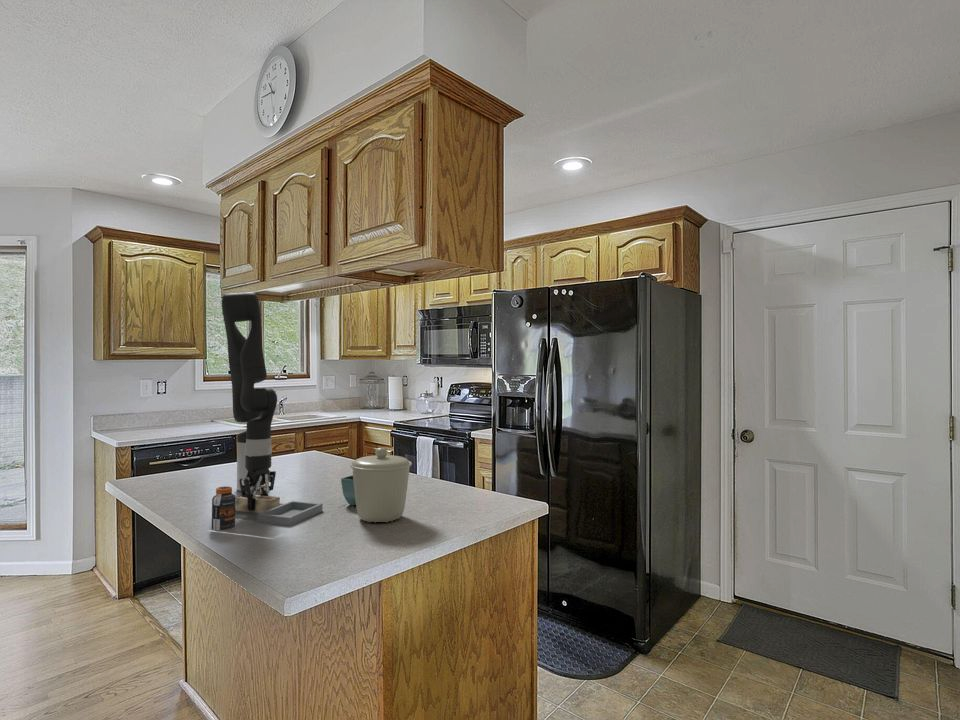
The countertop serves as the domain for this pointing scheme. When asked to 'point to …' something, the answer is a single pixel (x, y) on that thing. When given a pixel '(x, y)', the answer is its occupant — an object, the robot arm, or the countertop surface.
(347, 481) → the flower pot
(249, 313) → the robot arm
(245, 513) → the rubber mat
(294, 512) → the slate tray
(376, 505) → the canister
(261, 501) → the wooden block
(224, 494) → the pill bottle
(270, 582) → the countertop surface
